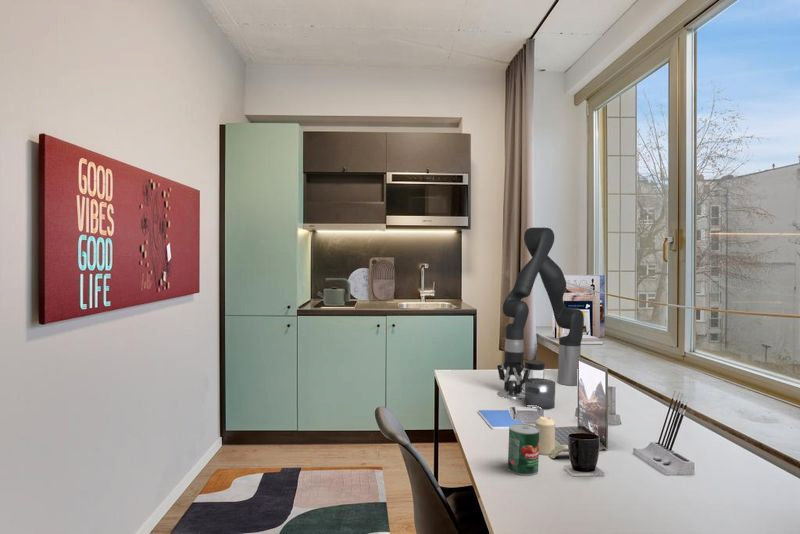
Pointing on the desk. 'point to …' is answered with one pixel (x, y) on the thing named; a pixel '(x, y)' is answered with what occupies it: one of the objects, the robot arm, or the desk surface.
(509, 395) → the lid
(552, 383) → the pot
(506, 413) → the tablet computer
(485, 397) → the desk surface
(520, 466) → the canned tomato
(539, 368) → the jar
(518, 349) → the robot arm
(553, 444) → the candle
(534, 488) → the desk surface
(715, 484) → the desk surface
